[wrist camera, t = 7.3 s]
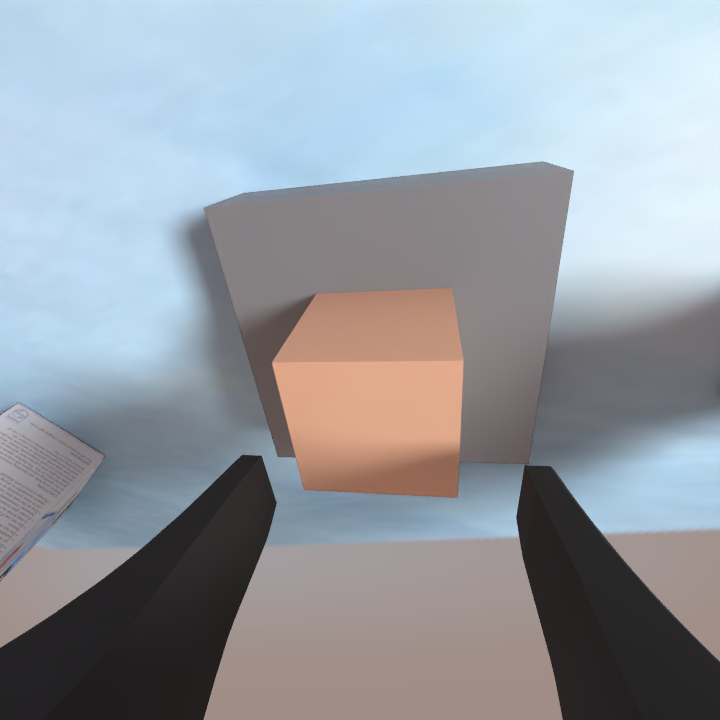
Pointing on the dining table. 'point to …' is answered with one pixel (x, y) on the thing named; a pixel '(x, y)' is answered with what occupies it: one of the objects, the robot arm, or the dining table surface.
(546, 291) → the grey square slab
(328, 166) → the dining table surface
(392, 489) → the terracotta block
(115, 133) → the dining table surface
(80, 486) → the light bulb box
